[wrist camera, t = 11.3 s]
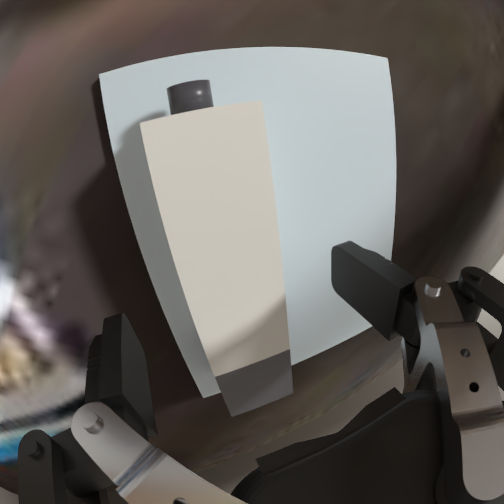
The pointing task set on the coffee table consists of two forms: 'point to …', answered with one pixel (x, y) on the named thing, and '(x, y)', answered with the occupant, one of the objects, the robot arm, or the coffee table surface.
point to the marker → (224, 238)
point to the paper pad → (274, 174)
